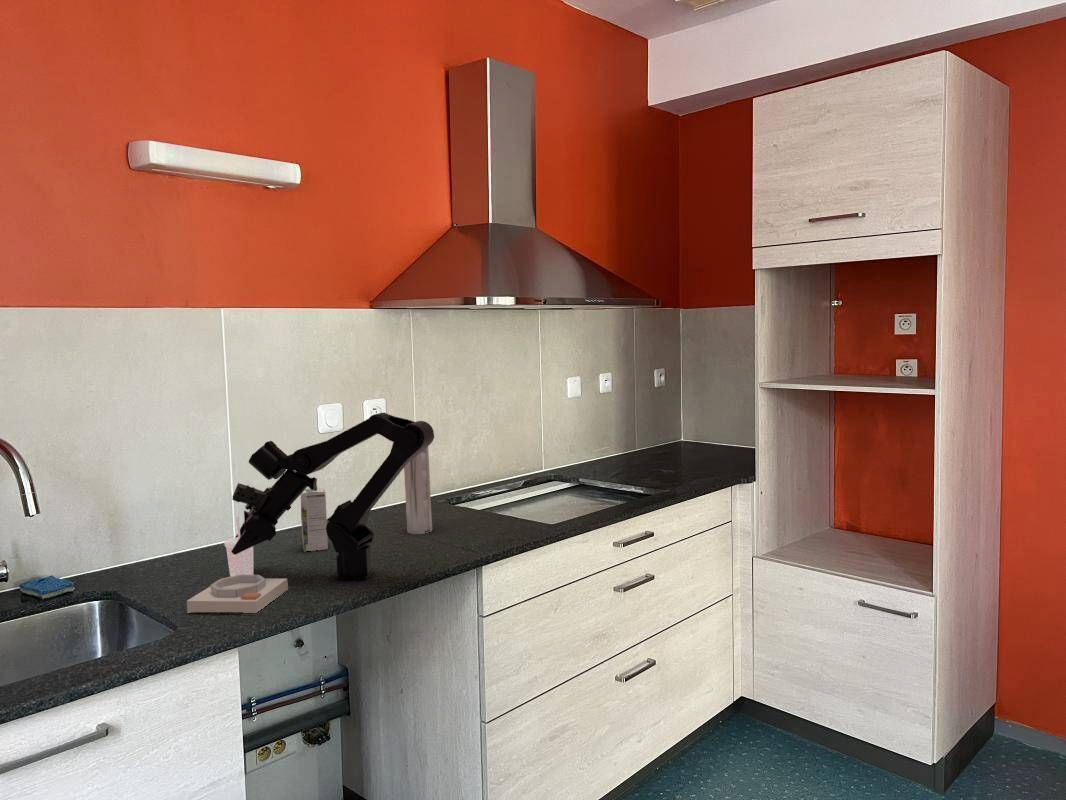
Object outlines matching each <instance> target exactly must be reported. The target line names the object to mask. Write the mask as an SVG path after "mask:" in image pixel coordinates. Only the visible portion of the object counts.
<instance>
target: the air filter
mask: <svg viewBox="0 0 1066 800" xmlns="http://www.w3.org/2000/svg"><path fill="white" fill-rule="evenodd" d="M403 469H404V470H403V472H404V473H403V474H404V492H405V495H404V496H405V510H406V529H407V533H408V534H409V533H410V534H409V535H426V534H429V532H430V533H431V532H432V531H433V521H432V519H433V518H432V517H433V516H432V502H431V480H430V477H431V476H430V457H429V446H428V447H427V448H425V449H424V450H423V451H422V452H421V453H420V454H418V455H417V456H416V457H414V458H413V459H412V460H411V461H409V462H408V463H407V464H406V466H405V467H404V468H403ZM425 533H426V534H425Z"/></svg>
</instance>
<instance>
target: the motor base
mask: <svg viewBox="0 0 1066 800" xmlns="http://www.w3.org/2000/svg"><path fill="white" fill-rule="evenodd" d="M288 585H289V584H288V578H270V577H268V578H265V577H263V576H261V575H260V574H253V575H236V576H231V577H230V576H227V577H223V578H218V580H217V581H215V582H213V583H211V584H210V586H208V587H207V588H205V589H204V590H202V591H200V592H199V593H197V594H196V595H194V596H192V597H191V598H189V599H188V600H186V609H187V612H186V613H187V614H188V613H191V612H193V613H194V612H243V613H257V612H258V611H260V610H261V609H263V608H264V607H265V606H267V605H268V604H269V603H270V602H272V601H273V600H275V599H276V598H278V597H279V596H280V595H281V596H283V595H284V594H285V593H286V592H285V591H287V590H288V591H289V586H288ZM288 591H287V592H288ZM284 592H285V593H284ZM283 593H284V594H283ZM282 594H283V595H282ZM281 596H280V597H281ZM280 597H279V598H280ZM279 598H278V599H279ZM276 600H277V599H276ZM276 600H275V601H276ZM272 603H273V602H272ZM268 606H269V605H268ZM268 606H267V607H268ZM263 610H264V609H263Z"/></svg>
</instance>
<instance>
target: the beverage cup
mask: <svg viewBox="0 0 1066 800" xmlns="http://www.w3.org/2000/svg"><path fill="white" fill-rule="evenodd" d="M240 526H241V525H240V517H239V516H236V527H237V530H236V531H237V534H238V537H237V538H235V537H232V538H228V539H226V540H225V541H224V542H223V543H224V547H225V549H226V554H227V555H226V556H227V563H228V571H229V577H231V576H236V575H254V546H252V547H250V548H248V549H246V550H244V551H242V552H240V553H238V554H236V555H234V554H233V553H232V552H231V551H232V549H233V548H234V546H235V544H236V543H237V541H238V540H239V538H240V528H241V527H240Z"/></svg>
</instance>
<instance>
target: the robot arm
mask: <svg viewBox="0 0 1066 800" xmlns="http://www.w3.org/2000/svg"><path fill="white" fill-rule="evenodd" d="M376 435H379V436H381V437H383V438H385V439H386V440H388V441H390V442H392V446H391V449H390V453H389V455H388V456H387V457H386V459H385V460H384V461H383V462H382V463H381V465H380V466H379V467H378V468H377V470H376V471H375V472H374V474H373V475H372V476H371V477H370V478H369V480H368V481H367V482H366V484H365V485H364V487H363V488H362V489H361V490H360V491H359V493H358V494H357V496H356V497H355V498H354V500H353V501H352V500H351V499H348V500H347V501H345V502H343V503H340V504H338V505H337V506H336V507H335V509H334V511H333V513H332V515H330V517H328V518H327V526H326V532H327V536H328V540H330V541H331V543H332V544H331V545H332V546H333V548H334V551H335V552H336V554H337V555H336V558H335V559H336V574H337V576H336V580H367V579H368V578H369V577H370V576H371V575H372V574H373V573H374V572H375V568H373V566H372V549H371V545H370V544H372V543H373V540H374V537H375V533H374V532H373V531H372V530H371V529H370V528H369V527H368V526H367V525H366V524H367V522H368V520H369V516H370V513H371V510H372V509H373V508H374V506H375V505H376V504H377V503H378V501H379V500H380V499H381V498H382V496H383V495H384V494H385V492H386V491H387V490H388V489H389V488H390V486H391V485H392V483H394V481H395V480H396V479H397V477H398V476H399V475H400V474H401V472H402V471H404V470H403V469H404V467H405V466H406V464H407V463H408V462H409V461H411V460H412V459H413V458H414V457H416V456H417V455H418V454H420V453H421V452H422V451H423V450H424V449H425V448H427V447H428V448H429V446H430V445H431V444H432V443H433V441H434V439H435V431H434V428H433V427H432V426H431V425H430V423H429V422H427V421H425V420H424V421H423V420H417V421H413V420H410V419H407V418H404V417H403V418H402V417H398V416H394V415H392V414H388V413H387V412H379V413H375V414H373V415H370V416H369V418H367V419H365V420H363V421H362V422H359V423H358V424H356V425H354V426H352V427H350V428H348V429H346V430H345V431H343V432H341V433H338V434H337V435H335V436H333V437H331V438H329V439H327V440H325V441H321V442H318V443H315V444H312V445H309V446H305V447H302V448H299V449H296V450H295V451H294V452H293V453H291V454H289V455H287V454H286V453H285V452H284V451H283V450H282V449H280V448H279V447H278V446H277V444H276V443H275V442H274V441H272V440H270V441H266V442H265V443H264V444H263V445H262V446H261V447H260V448H258V449H257V450H256V451H255V452H253V453H252V454H251V456H250V457H249V459H248V464H249V465H251V466H252V467H253V468H254V469H255V470H256V471H257V472H258V473H260V475H262V476H263V477H264V478H266V480H268V481H269V480H272V479H274V480H277V481H276V482H275V483H274V484H273V485H272V486H271V487H270V486H269V487H266V488H265V489H264V491H263V490H260V489H258V488H255V487H254V486H249V485H245V484H243V483H239V482H238V483H237V484H236V486H235V489H234V492H233V494H232V498H231V499H232V501H234V502H237V503H242V504H245V506H244V510H243V517H244V518H243V519H244V521H243V523H242V525H241V527H240V538H239V540H238V541H237V543H236V544H235V546H234V548H233V549H232V551H231V552H232V553H233V554H234V555H236V554H238V553H240V552H242V551H244V550H246V549H248V548H250V547H252V546H253V547H254V546H257V545H258V544H261V543H263V542H267V541H268V542H271V541H272V539H273V538H274V537H275V536H276V535H277V533H276V532H277V530H276V525H277V524H278V523H279V521H278V520H279V519H280V518H281V517H282V516H283V515H284V513H286V511H288V512H289V510H291V508H292V505H293V503H294V502H295V501H297V499H298V498H299V497H301V493H302V492H303V491H304V490H305V489H309V488H310V489H311V490H314V491H317V488H318V485H317V483H318V482H317V481H318V478H317V477H310V476H309V475H310V474H313V473H315V472H319V471H321V470H323V469H324V468H325V467H327V466H328V465H329V464H331V463H332V462H333V461H334V460H335V459H336V458H337V457H338V456H339V455H340V454H342V453H344V452H346V451H347V450H349V449H352V448H354V447H355V446H357V445H359V444H362V443H363V442H365V441H367V440H369V439H371V438H373V437H375V436H376ZM246 510H247V511H246ZM237 537H238V533H237V534H236V536H235V537H234V538H237Z"/></svg>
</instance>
